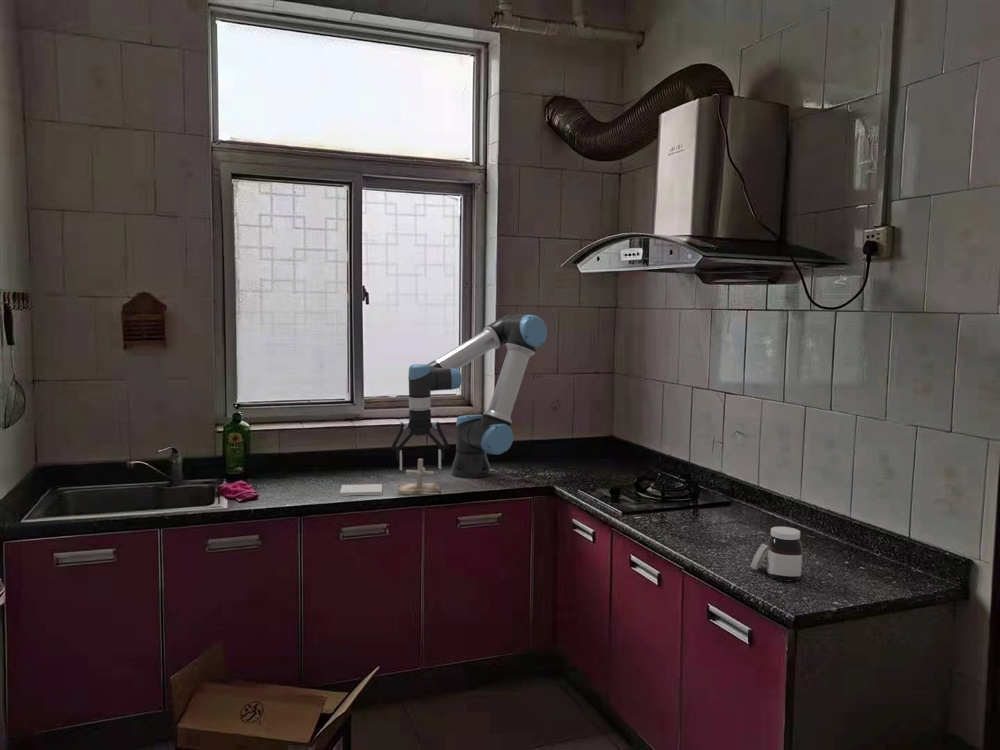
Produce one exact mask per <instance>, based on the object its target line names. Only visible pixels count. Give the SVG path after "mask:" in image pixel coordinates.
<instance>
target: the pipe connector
mask: <svg viewBox="0 0 1000 750" xmlns="http://www.w3.org/2000/svg"><path fill="white" fill-rule="evenodd" d="M435 474H436V472H435V471H429V470H426V468H425V467H424V458H418V459H417V470H416V469H415V470H414V469H406V470H405V475H406V476H414V478H415V479H416V482H417V483H416V484H417V487H418V488H422V483H423V479H424V478H423V477H432V478H433V477H435Z"/></svg>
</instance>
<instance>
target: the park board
mask: <svg viewBox="0 0 1000 750" xmlns="http://www.w3.org/2000/svg"><path fill="white" fill-rule="evenodd" d="M422 493H440V494H441V488H440V484H439V483H438V482H436V483H435V482H434V483H433V482H431V483H430V482H428V483H427V482H425V483H424V482H422V488H418V487H417V483H399V484H398V494H399V496H400V495H401V496H402V495H403V494H414V495H423V494H422ZM403 496H404V495H403Z"/></svg>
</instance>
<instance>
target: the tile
mask: <svg viewBox="0 0 1000 750" xmlns="http://www.w3.org/2000/svg"><path fill="white" fill-rule="evenodd" d="M340 487H341V488H340V491H339V496H340V497H352V496H351V495H365V496H383V495H382V494H383V484H382V483H380V484H379V483H376V484H375V483H374V484H341V486H340Z"/></svg>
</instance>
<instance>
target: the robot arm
mask: <svg viewBox="0 0 1000 750" xmlns="http://www.w3.org/2000/svg"><path fill="white" fill-rule="evenodd" d="M547 335H548V329H547V326H546V324H545V322H544V320H543V319H542V318H541V317H540V316H537V315H533V314H529V313H528V314H516V313H515V314H513V313H512V314H507V315H505V316H503V317H501V318H499V319H497V320H495V321H493V322H492V323H490V324H488V325H487V326H484V327H483V330H482V331H481V332H480V333H479V334H476V335H474V337H472V338H470V339H468V340H466V341H465V342H463V343H461V344H460V345H458V346H455V348H453V349H451V350H449V351H448V352H447V353H445V354H443V355H442V356H440V357H438V358H437V359H434V360H432V361H431V362H429V363H427V364H424V363H422V364H419V363H418V364H411V365H410V366H409V367H408V377H407V379H408V408H409V410H408V423H404V422H400V424H399V425H400V426H399V429H398V432H397V434H396V436H395V438H394V440H393V441H392V444H391V446H390V448H391V450H392V451H395V455H396V461H399V470H400V471H403V452H402V451H403V450H402V449H403V447H404V446H405V445H406V444H407V443H408V441H409V440H410V439H411V437H413V436H416V437H417V436H418V437H419V436H428V437H429V438H430V439H431V440H432V441H433V442H434V443H435V445H437V447H438V448H439V449H438V453H437V454H438V456H437V457H438V469H439V470H441V469H442V460H444V459H445V450H446V449H449V448H450V444H449V442H448V439H446V436H445V434H444V432H443V431H442V429H441V424H440V422H439V421H436V422H432V420H431V419H432V418H431V417H432V416H431V415H432V411H431V409H430V408H431V407H432V405H431V392H435V391H452V390H458V389H459V388H460V387H461V385H462V381H463V380H462V379H463V377H462V373H461V372H460V369H462V368H463V367H464V366H466V365H468V364H470V363H471V362H473V361H475V360H476V359H478V358H480V357H481V356H483V355H484V354H486V353H488V352H489V351H491V350H493V349H494V350H498V349H500V348H501V347H503V346H505V347H506V349H507V351H506V354H505V358H504V361H503V364H502V367H501V370H500V373H499V376H498V379H497V382H496V385H495V388H494V391H493V394H492V396H491V400H490V402H489V407H488V409H487V410H486V411H484V412H483V413H482V414H469V415H467V414H466V415H460V416H458V417H457V418H456V425H455V427H456V428H455V429H456V430H455V431H456V435H455V436H456V439H455V440H456V441H455V442H456V443H455V445H456V447H455V449H456V450H455V457H454V460H453V462H452V466H451V471H450V472H451V475H453V476H455V477H458V478H464V479H465V478H466V479H467V478H468V479H473V478H474V479H475V478H484V477H488V476H490V475H491V465H490V463H489V460H488V456H487V454H488V455H496V456H497V455H501V454H503V453H505V452H507V451H508V450H509V449H510V448H511V446H512V444H513V441H514V433H513V430H512V425H513V421H512V419H511V416H512V412H513V410H514V407H515V406H514V405H515V402H516V400H517V396H518V394H519V390H520V387H521V384H522V381H523V378H524V375H525V372H526V369H527V366H528V362H529V360H530V357H532V356H533V355H535V354H536V351H537V348H538V347H541V346H542V345H543V344H544V343H545V342H546V339H547ZM407 428H408V429H409V431H408V433H407V434H406V436H405V437H404V438H403V439H402V441H400V443H399V444H398V442H399V440H400V438H401V437H402V434H403V433H404V430H406V429H407ZM432 428H434V429H436V430H437V433H438V435H439V436H440V438H441V440H442V442H443V444H442V443H441V442H440V441H439V440H438V439H437V437H436V435H434V434H433V432H432V431H431V429H432Z"/></svg>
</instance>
